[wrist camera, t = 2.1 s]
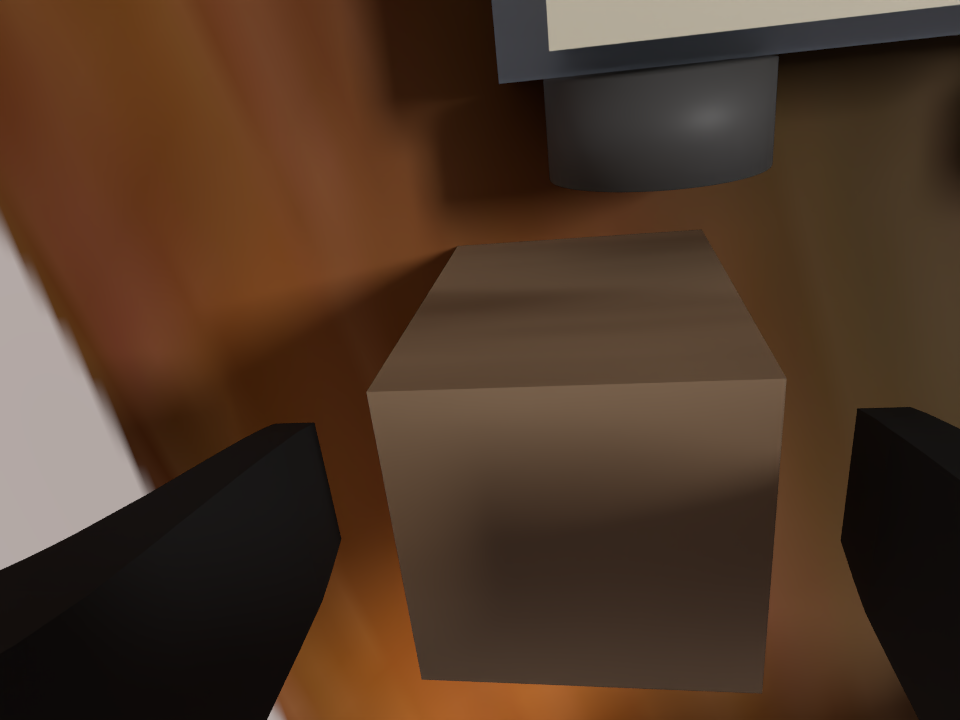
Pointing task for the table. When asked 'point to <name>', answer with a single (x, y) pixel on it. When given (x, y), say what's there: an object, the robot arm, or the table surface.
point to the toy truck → (678, 78)
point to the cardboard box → (584, 466)
